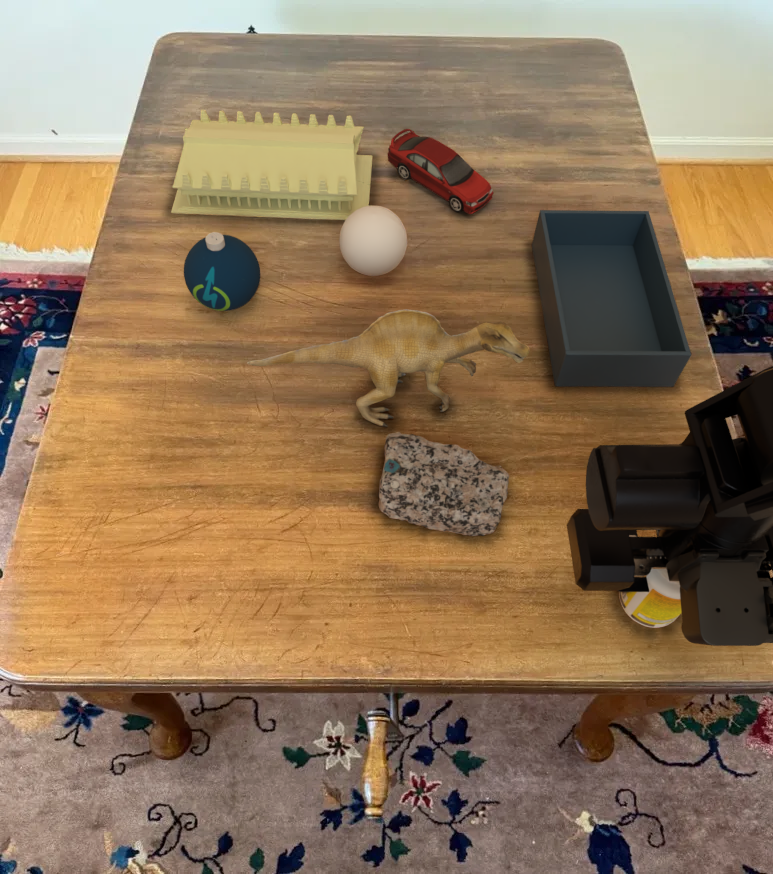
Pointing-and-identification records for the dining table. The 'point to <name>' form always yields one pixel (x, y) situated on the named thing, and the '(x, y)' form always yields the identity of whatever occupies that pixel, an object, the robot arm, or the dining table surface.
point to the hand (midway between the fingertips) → (656, 588)
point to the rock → (440, 486)
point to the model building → (272, 168)
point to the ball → (373, 240)
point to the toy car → (439, 171)
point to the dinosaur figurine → (405, 354)
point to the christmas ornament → (222, 272)
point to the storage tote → (607, 300)
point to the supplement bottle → (654, 601)
